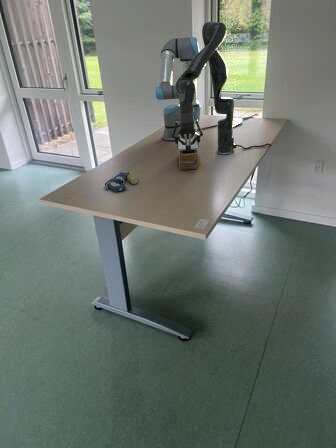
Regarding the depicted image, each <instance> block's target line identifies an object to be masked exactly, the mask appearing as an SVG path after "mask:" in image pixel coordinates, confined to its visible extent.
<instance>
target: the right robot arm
mask: <svg viewBox="0 0 336 448" xmlns="http://www.w3.org/2000/svg"><path fill="white" fill-rule="evenodd" d="M202 25H203V26H202V29H201V37H202V41H203V42H202V43H203V45H204V47H203V48H202V49H201V50H199V53H197V54H196V55H195V56H194V58H193V59H192V61H191V62H190V64H189V66H188V68H187V70H186V71H185V72H184V73H183V72H182V74H181V75H180V76H179V77H178V78H177V80H176V82H175V85H174V86H175V89H176V91H177V93H179V94H185V98H184V99H182V100H180V102H178V104H179V107H180V134H179V135H177V136H176V138H177V139H178V140H179V142H180V143H181V144H182V145H185V146H186V152H190V151H191V145H192V144H194V143H195V142H196V140H197V139H198V138H199V134H200V133H199V134H197V133H196V132H195V129H196V128H195V123H194V113H193V100H194V96H195V91H196V92H197V85H196V86H195V83H194V81H193V80H195V79H196V80H197V79H199V77H200V76H201V74H202V72H203V70H204V69H205V67H206V65H207V63H208V67H209V75H210V80H211V84H212V92H213V105H214V111H215V113H216V114H218V115H225V117H224V118H221V119H219V120H217V125H218V126H217V148H216V149H217V152H216V153H217V154H219V155H221V156H222V155H223V156H227V155H230V154H232V153H234V149H237V147H240V148H242V149H243V150H249V149H251V148H262V147H266V146H269V147H272V143H265V144H262V145H261V144H260V145H251V146H247V147H244V146H243V145H240V144H236V143H235V138H234V137H233V135H234V134H233V133H234V131H233V129H234V127H233V118H234V115H235V114H234V113H235V100H234V99H233V98H231V97H222V91H223V88H224V86H225V84H226V82H227V81H228V68H227V67H228V66H227V63H226V61H225V59H224V58H223V56H222V55H221V54H220V52H219V50H218V48H219V47H220V46H221V45H222V43H223V42H224V40H225V39H226V36H227V25H226V24H225V23H224V22H221V21H206V22H204V24H202ZM194 128H195V129H194ZM181 136H182V139H185V142H184V141H183V140H182V139H181ZM192 138H194V139H193V141H192V142H191V139H192ZM187 139H189V143H187Z"/></svg>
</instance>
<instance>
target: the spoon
mask: <svg viewBox="0 0 336 448" xmlns="http://www.w3.org/2000/svg"><path fill="white" fill-rule="evenodd" d="M242 119H243V118H240V117H233V128H234V127H236V126H238V125H240V124H241V123H242V122H243V120H242Z"/></svg>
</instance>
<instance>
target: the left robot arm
mask: <svg viewBox="0 0 336 448" xmlns="http://www.w3.org/2000/svg"><path fill="white" fill-rule="evenodd" d="M199 52H200V46H199V41H198V38H197V37H196V36H186V37H178V38H177V37H176V38H171V39H169V40H168V41H166V42H165V44H164V45H163V46H162V48H161V50H160V54H159V58H160V61H161V62H160V75H159V76H160V77H159V85H158V86H156V87H155V89H154V90H155V98H156V100H158V101H159V100H160V101H165V100H178V101H179V102H180V100H182V99H184V98H185V94H179V93H177V91H176V89H175V85H173V75H174V61H175V60H176V59H179V62H180V63H181V64H182V74H183V73H184V72H185V71H186V70H187V68H188V66H189V64H190V62H191V61H192V59H193V58H194V56H195V55H196V54H197V53H199ZM193 81H194V83H195V86H196V87H197V79H195V80H193ZM179 102H178V103H174V104H169V105H166V106H165V107H164V108H163V121H164V130H163V135H162V139H163V140H164V141H167V142H174V144H175V145H176V148H177V150H178V139H177V138H176V136H177V135H179V134H180V107H179ZM201 110H202V105H201V104H200V102H199V101H198V99H197V90H196V91H195V96H194V100H193V113H194V125H195V126H196V128H197V129H196V128H195V127H194V129H195V132H196V133H197V134H199V138H198V139H197V143H198V149H199V146H200V145H199V143H201V137H203V136H204V132H203V131H202V130H207V129H210V128H214V127H218V124H214V125H211V126H206V127H202V128H201V126H200V124H199V122H200V121H201ZM255 116H258V117H259V113H255V114H253V115H250V116H247V117H243V118H241V119H242V121H243V120H247V119H250V118H253V117H255ZM198 131H199V132H198ZM181 139H183V138H182V136H181Z"/></svg>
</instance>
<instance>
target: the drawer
mask: <svg viewBox="0 0 336 448" xmlns="http://www.w3.org/2000/svg"><path fill="white" fill-rule="evenodd" d="M198 155H199V152H198V153H196V150H191V151H190V152H186V150H182V151H181V154H178V158H179V157H180V167H179V170H180V171H181V170H195V169H197V170H198V169H199V166H198Z"/></svg>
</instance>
